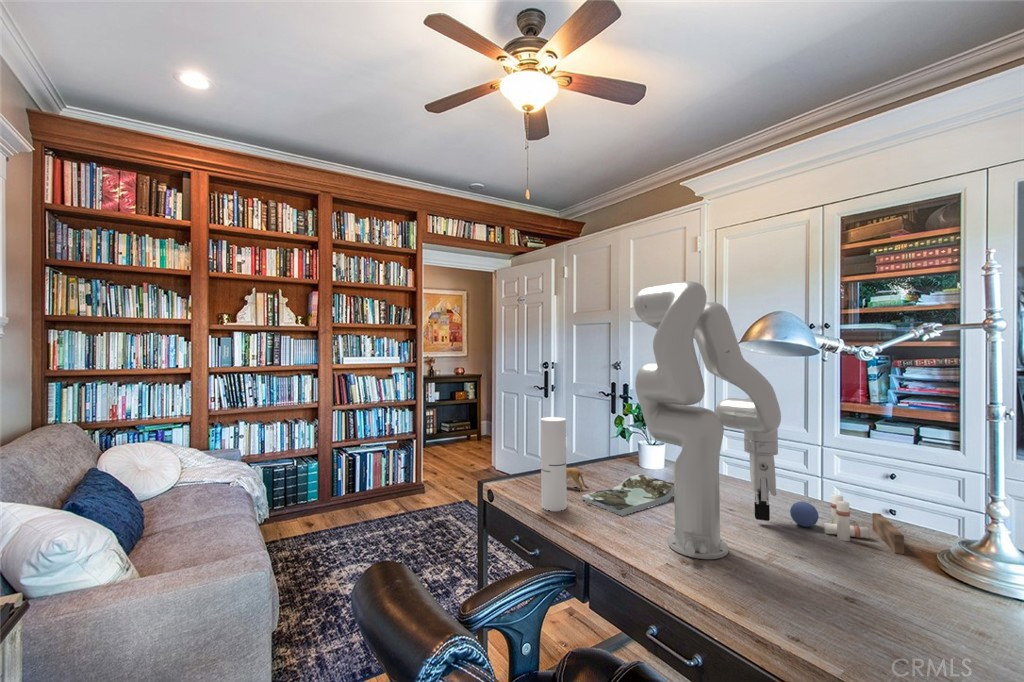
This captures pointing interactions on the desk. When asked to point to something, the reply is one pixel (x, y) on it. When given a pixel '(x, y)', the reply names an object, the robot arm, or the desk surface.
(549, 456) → the cylindrical container
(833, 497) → the rear pin far
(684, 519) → the robot arm
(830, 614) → the desk surface
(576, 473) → the lion figurine
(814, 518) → the ball
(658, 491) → the topographical model
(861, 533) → the front pin
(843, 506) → the rear pin near
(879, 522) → the stopper rail
